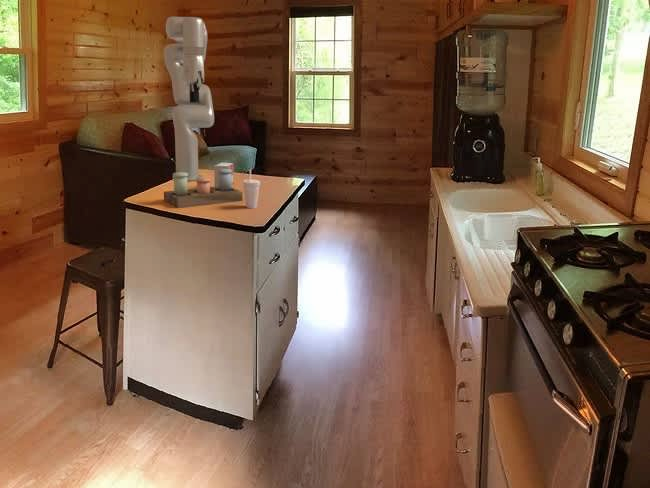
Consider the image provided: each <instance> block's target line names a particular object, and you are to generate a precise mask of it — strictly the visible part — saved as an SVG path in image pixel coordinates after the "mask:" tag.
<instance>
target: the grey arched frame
mask: <svg viewBox="0 0 650 488" xmlns="http://www.w3.org/2000/svg"><path fill="white" fill-rule="evenodd" d="M234 164H235V163H232V162H220V163H217V164H215V165H214V168H213V169H214V170H213V171H214V187H216V186H219V173H218V169H231V170H232V173H231V188H234V187H235V185H234V184H235V183H234V179H235V175H234V171H235V165H234ZM234 189H235V188H234Z"/></svg>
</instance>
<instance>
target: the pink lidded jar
mask: <svg viewBox="0 0 650 488" xmlns="http://www.w3.org/2000/svg"><path fill="white" fill-rule="evenodd" d="M211 179H212V178H210V177H206V176H204V177H203V176H202V177H200V178H196V180H195V182H196V188H197V193H198V194H206V193H210V187H211Z"/></svg>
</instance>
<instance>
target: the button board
mask: <svg viewBox="0 0 650 488" xmlns="http://www.w3.org/2000/svg"><path fill="white" fill-rule="evenodd" d="M163 201H164V202H166V203H168V204H170V205H172V206H174V207H176V208H177V209H182V208H191V206H192V207H198V206H208V205H215V204H216V205H217V204H225V203H233V202H243V191H241V190H239V189H236V188H231V191H219V186H216V187H215V186H210V193H206V194H198V193H197V187H196V188H189V189H188V195H186V196H176V195H174V190H168V191H163Z"/></svg>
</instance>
